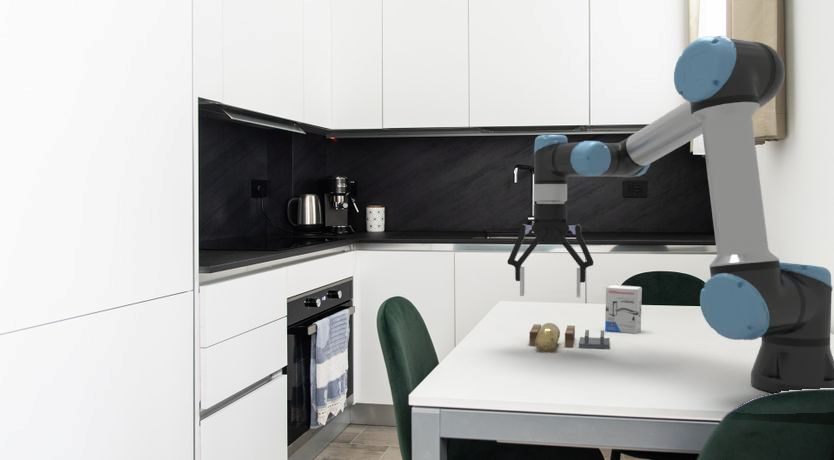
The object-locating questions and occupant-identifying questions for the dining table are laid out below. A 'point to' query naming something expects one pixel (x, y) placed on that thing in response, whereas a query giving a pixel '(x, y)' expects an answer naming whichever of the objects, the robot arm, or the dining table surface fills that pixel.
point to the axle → (547, 337)
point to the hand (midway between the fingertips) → (550, 296)
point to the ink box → (623, 309)
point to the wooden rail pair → (568, 335)
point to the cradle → (594, 341)
